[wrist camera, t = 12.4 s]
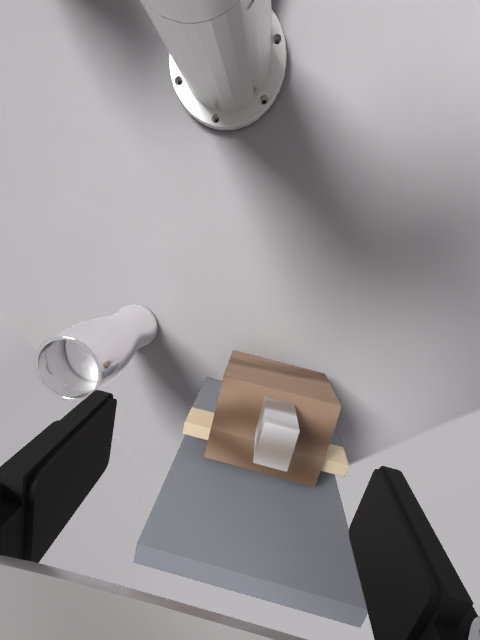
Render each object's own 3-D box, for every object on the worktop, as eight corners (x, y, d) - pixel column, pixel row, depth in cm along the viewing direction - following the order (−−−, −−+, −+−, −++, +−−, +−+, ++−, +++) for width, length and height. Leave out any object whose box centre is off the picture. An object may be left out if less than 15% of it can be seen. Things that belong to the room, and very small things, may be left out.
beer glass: (164, 307, 42) (107, 344, 27) (157, 354, 44) (99, 411, 29) (115, 295, 42) (32, 325, 27) (110, 342, 44) (30, 393, 29)
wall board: (206, 377, 44) (143, 508, 23) (330, 409, 43) (386, 576, 22) (198, 410, 45) (133, 562, 24) (318, 442, 44) (360, 627, 23)
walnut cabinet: (233, 350, 39) (215, 397, 26) (324, 373, 39) (356, 434, 25) (217, 415, 41) (192, 491, 28) (304, 438, 41) (323, 527, 27)
